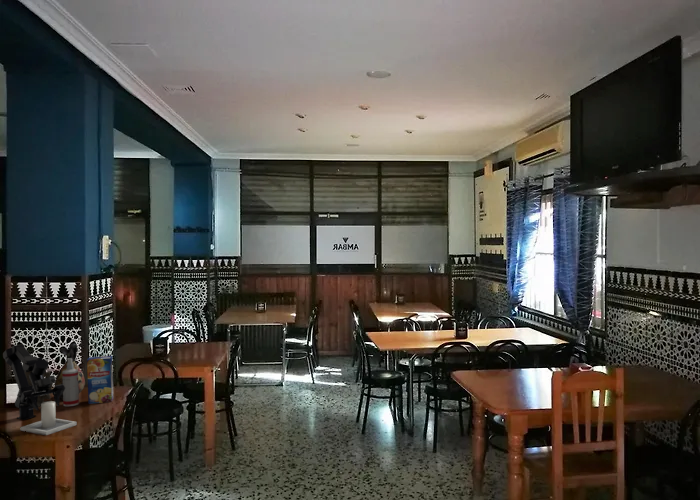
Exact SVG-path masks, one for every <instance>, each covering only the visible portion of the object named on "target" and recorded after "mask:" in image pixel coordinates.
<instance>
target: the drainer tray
mask: <svg viewBox="0 0 700 500" xmlns="http://www.w3.org/2000/svg"><path fill="white" fill-rule="evenodd" d="M74 426H77V421H76V420H75V421H73V420H67V419H61V418H56V426H55V427H52V428H42V424H41V420H39V421H36V422H32V423H30V424H27V425H22V426H20V428H19V429H20V430H19V431H22V432H25V431H26V433H32V434H36V435H42V436H48V435H52V434H55V433H57V432H60V431H63V430H66V429H70V428H73V427H74Z"/></svg>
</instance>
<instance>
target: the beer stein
mask: <svg viewBox="0 0 700 500" xmlns="http://www.w3.org/2000/svg"><path fill="white" fill-rule="evenodd" d="M24 372H25V370H24ZM31 372H32V371H31ZM31 372H25V375H26V377H27V380H28V383H29V385H30V386H31V385H32V382H31V380H29V374H30V373H31ZM43 376H44V378H48V377H50V376H51V372H50V371H46V372H45V374H43ZM48 389H49V390H50V389H53V383H52V384H50V388H48ZM51 398H52V396H51V394H47V395H42V396H38V399H37V405H38V408H39V407H40V408H41V403H43V402H45V401H44V400H50V399H51Z"/></svg>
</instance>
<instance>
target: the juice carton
mask: <svg viewBox="0 0 700 500" xmlns="http://www.w3.org/2000/svg"><path fill="white" fill-rule="evenodd" d="M86 361H87V362H86V363H87V365H86V367H87V369H86V371H87V372H86V373H87V397H88V398H87V400H88V403H87V404H89V405H91V404H104V403H103V402H105V403H112V402H113V400H114V375H113V373H114V372H113V371H114V370H113V355H103V356H89V357H88V358H87V359H86Z"/></svg>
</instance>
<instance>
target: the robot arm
mask: <svg viewBox="0 0 700 500" xmlns="http://www.w3.org/2000/svg"><path fill="white" fill-rule="evenodd" d="M2 357H3V359H4V361H5V363H6V364H7V365H9V366H10V367H11V369H12V372H13V375H14V379H15V381H16V385H17V388H18V392H17V394H16V396H17V397H16V398H15V401H14V406H15V407H16V408H17V409H19V410H18V414H19V416H17V417H16V419H18V420H22V421H25V420H28V419H31V418H36V417H37V415H35V414H34V412H35V411H34V410H36V411H37V412H39V410H40V408H39V407H38V405H37V399H38V396H42V395H47V394H50V395H51V394H52V395H53V399H54V402H55V405H56V406H57V407H60V400H61V399H60V395H62V394H63V392H64V390H65V386H64V385H63V384H61V385H55V380H56V377H55V375H53V374H52V375H50V377H48V378H47V377H44V376H43V374H45V373H47V369H48V367H49V365H50V364H49V361H48V360H47V359H44V358H43V357H37V356H32V354H31V353H30V351H28V350H27V348H26V346H25V344H16V345H12V346H11V347H9V348H7V349H5V351H4V352H3V353H2ZM24 370H25V372H31V371H32V372H31V373H30V374H29V380H31V382H32V385H31V386H30V385H29V383H28V380H27V377H26V375H25V372H24ZM50 384H52V385H53V384H54V387H53V388H52V389H50V390H49V389H48V388H50Z"/></svg>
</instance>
